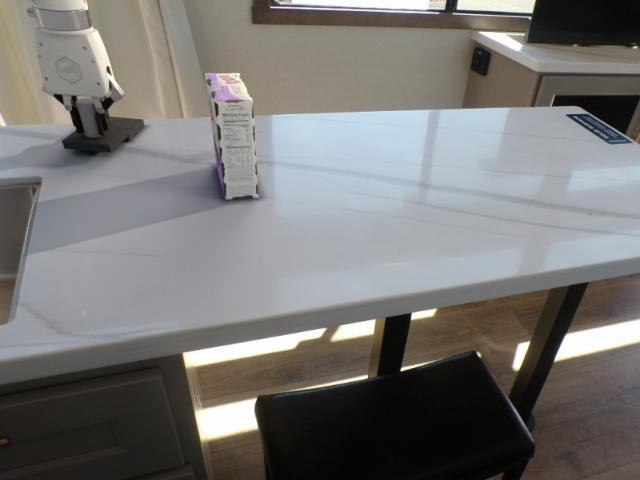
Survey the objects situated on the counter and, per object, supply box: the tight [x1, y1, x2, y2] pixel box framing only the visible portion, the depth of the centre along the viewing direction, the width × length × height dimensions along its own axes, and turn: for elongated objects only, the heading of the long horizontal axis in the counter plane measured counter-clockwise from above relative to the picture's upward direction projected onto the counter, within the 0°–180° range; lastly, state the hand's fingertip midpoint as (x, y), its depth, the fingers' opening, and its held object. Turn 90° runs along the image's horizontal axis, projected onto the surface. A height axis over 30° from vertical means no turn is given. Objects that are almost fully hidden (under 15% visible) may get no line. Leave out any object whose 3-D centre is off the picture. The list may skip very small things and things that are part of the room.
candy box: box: [204, 72, 260, 201], centre depth 86 cm, size 14×6×16 cm, turn 21°
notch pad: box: [109, 115, 146, 142], centre depth 102 cm, size 8×8×2 cm
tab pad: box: [61, 97, 128, 153], centre depth 94 cm, size 8×10×8 cm
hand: (94, 131), depth 94 cm, fingers closed on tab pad, 3 cm apart
